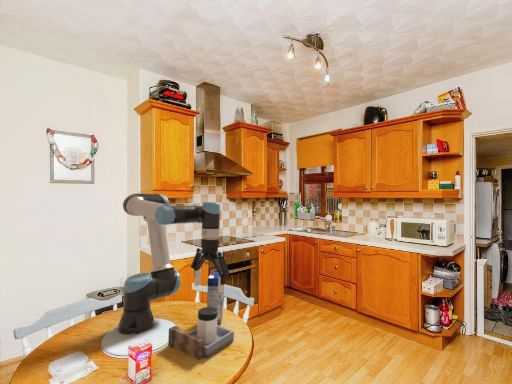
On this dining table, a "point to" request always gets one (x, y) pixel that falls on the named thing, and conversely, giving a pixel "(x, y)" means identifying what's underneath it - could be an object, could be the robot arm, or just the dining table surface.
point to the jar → (207, 324)
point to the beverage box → (215, 296)
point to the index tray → (221, 341)
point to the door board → (186, 342)
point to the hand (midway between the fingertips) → (208, 288)
